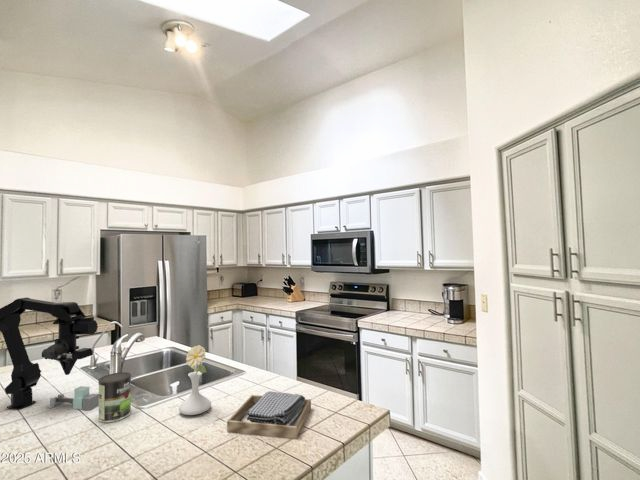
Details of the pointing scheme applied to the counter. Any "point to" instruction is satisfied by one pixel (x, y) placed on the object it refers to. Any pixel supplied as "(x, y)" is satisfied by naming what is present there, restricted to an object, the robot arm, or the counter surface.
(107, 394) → the coffee can
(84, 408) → the grey angular piece
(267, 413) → the towel
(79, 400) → the mint stepped block
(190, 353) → the flower in vase
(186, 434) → the counter surface
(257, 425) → the linen tray frame
